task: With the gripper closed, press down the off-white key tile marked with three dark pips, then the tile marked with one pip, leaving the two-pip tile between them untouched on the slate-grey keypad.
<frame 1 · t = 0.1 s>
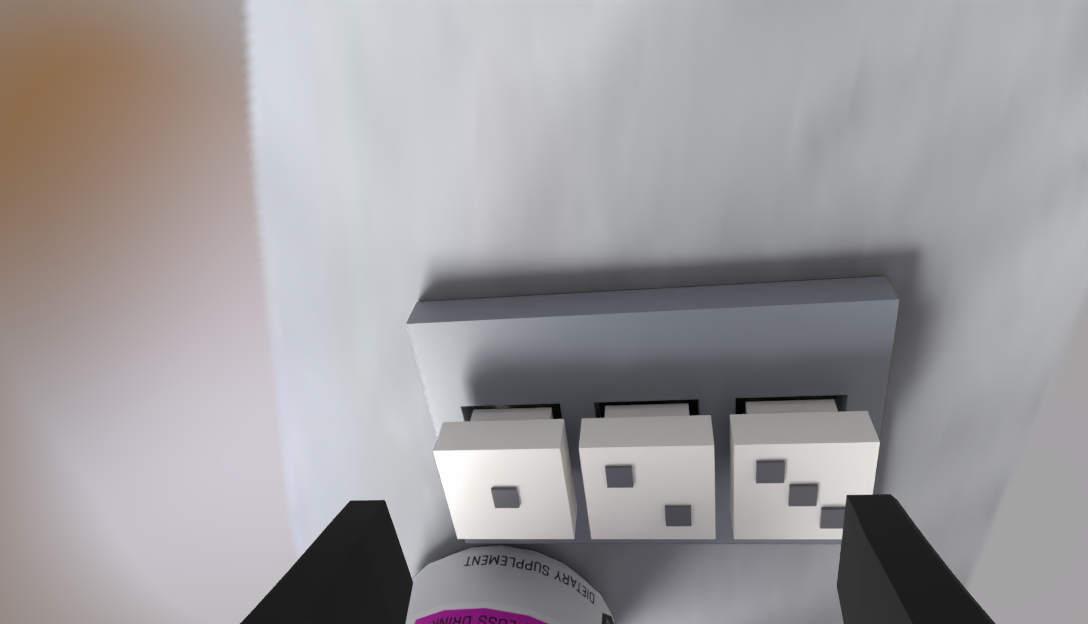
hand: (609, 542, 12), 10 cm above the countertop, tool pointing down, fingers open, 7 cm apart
tile one: (511, 467, 22), point 2 cm above the countertop, slide at 0.0 cm
supplement can: (511, 601, 29), on the countertop
keypad: (648, 414, 23), on the countertop
tile two: (648, 465, 21), point 2 cm above the countertop, slide at 0.0 cm
tile three: (794, 463, 20), point 2 cm above the countertop, slide at 0.0 cm
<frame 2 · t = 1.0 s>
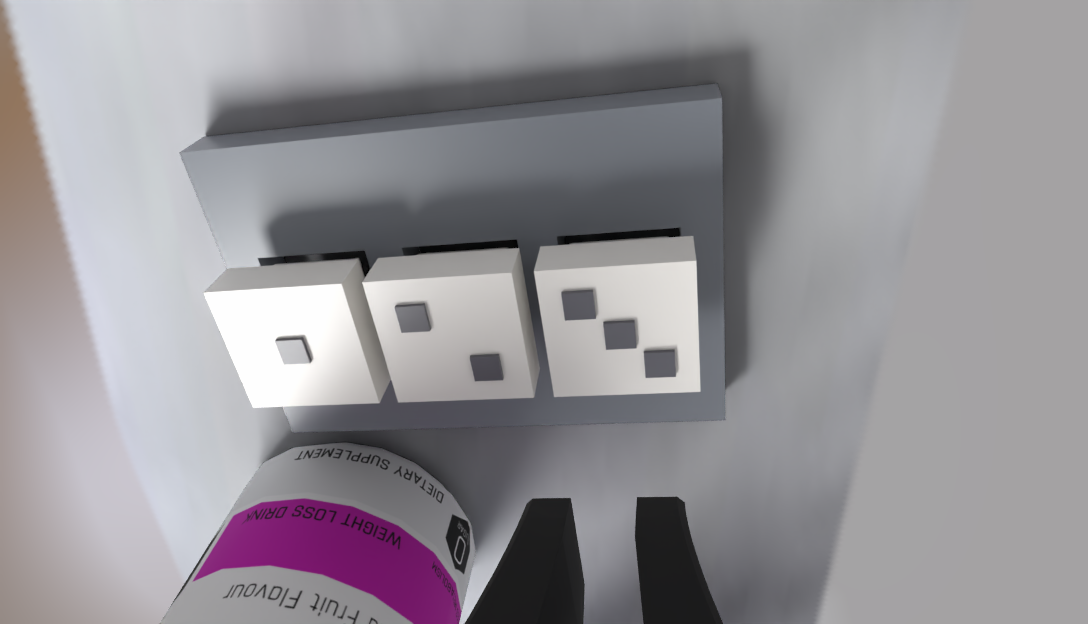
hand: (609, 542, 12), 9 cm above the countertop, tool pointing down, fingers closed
tile one: (312, 324, 19), point 2 cm above the countertop, slide at 0.0 cm
supplement can: (367, 512, 26), on the countertop
keypad: (478, 272, 20), on the countertop
tile two: (461, 316, 18), point 2 cm above the countertop, slide at 0.0 cm
tile three: (621, 307, 18), point 2 cm above the countertop, slide at 0.0 cm
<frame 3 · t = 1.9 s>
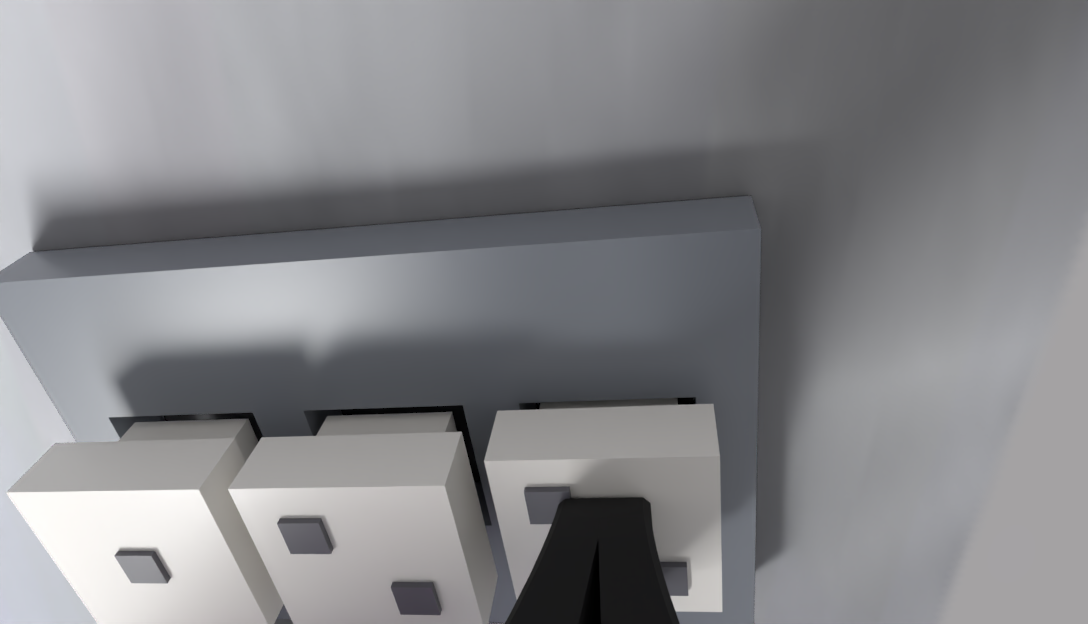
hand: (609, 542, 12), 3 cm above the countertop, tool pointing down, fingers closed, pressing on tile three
tile one: (180, 514, 14), point 2 cm above the countertop, slide at 0.0 cm
keypad: (417, 428, 15), on the countertop
tile two: (384, 512, 13), point 2 cm above the countertop, slide at 0.0 cm
tile three: (611, 488, 13), point 2 cm above the countertop, slide at 0.5 cm, touching gripper
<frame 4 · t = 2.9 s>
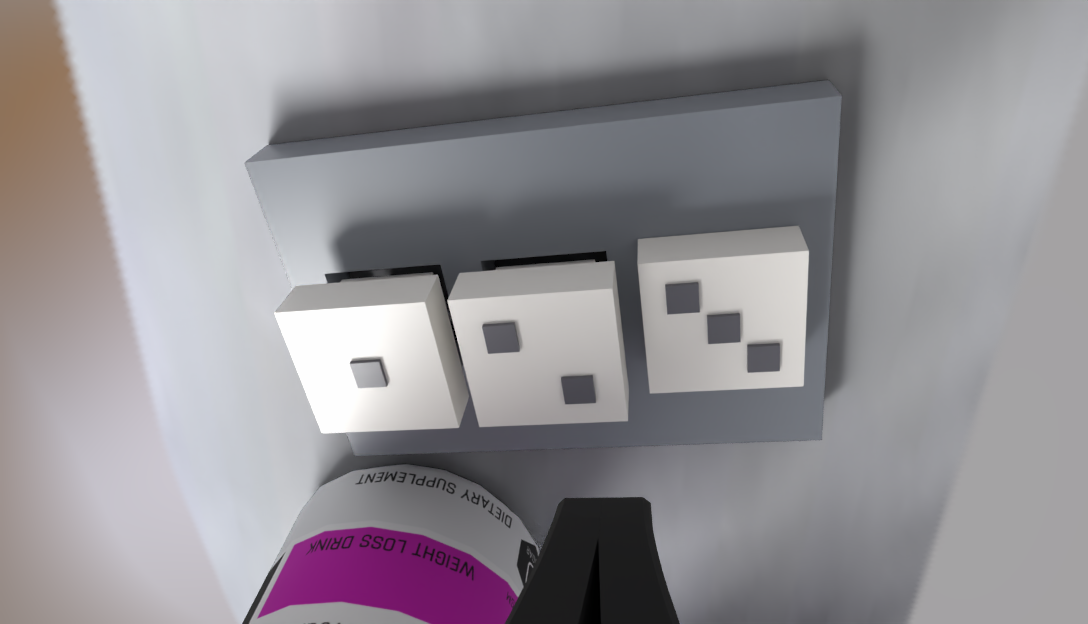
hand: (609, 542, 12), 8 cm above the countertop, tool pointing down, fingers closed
tile one: (384, 344, 18), point 2 cm above the countertop, slide at 0.0 cm
supplement can: (425, 535, 25), on the countertop
keypad: (556, 285, 19), on the countertop
tile two: (546, 334, 17), point 2 cm above the countertop, slide at 0.0 cm
tile three: (719, 300, 17), point 1 cm above the countertop, slide at 1.0 cm
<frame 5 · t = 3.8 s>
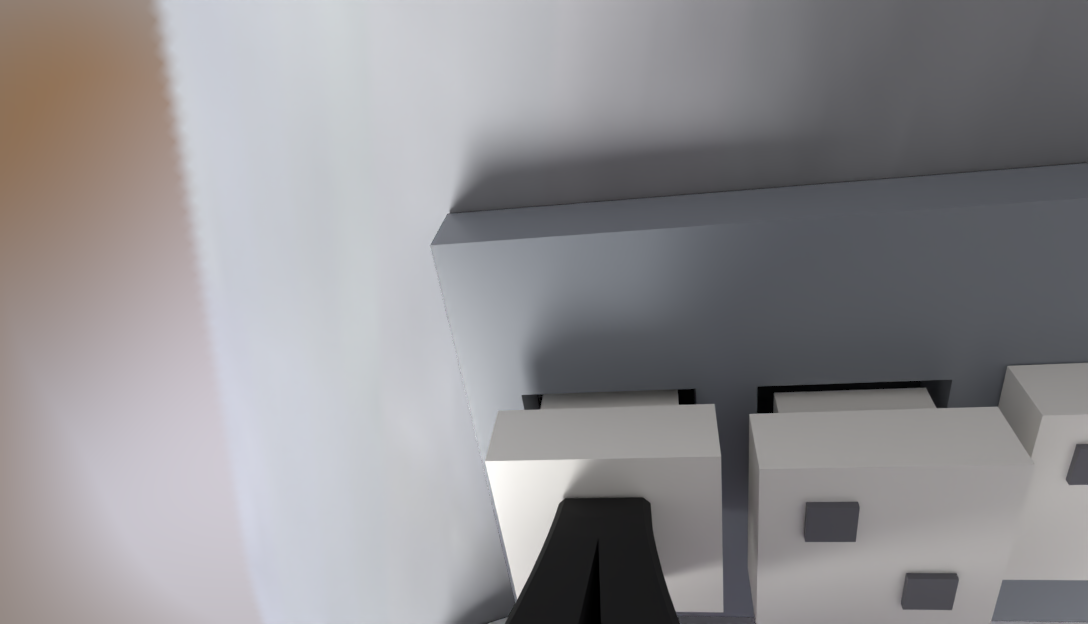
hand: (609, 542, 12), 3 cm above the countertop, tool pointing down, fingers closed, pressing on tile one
tile one: (612, 488, 13), point 2 cm above the countertop, slide at 0.3 cm, touching gripper
keypad: (831, 408, 14), on the countertop
tile two: (861, 497, 12), point 2 cm above the countertop, slide at 0.0 cm
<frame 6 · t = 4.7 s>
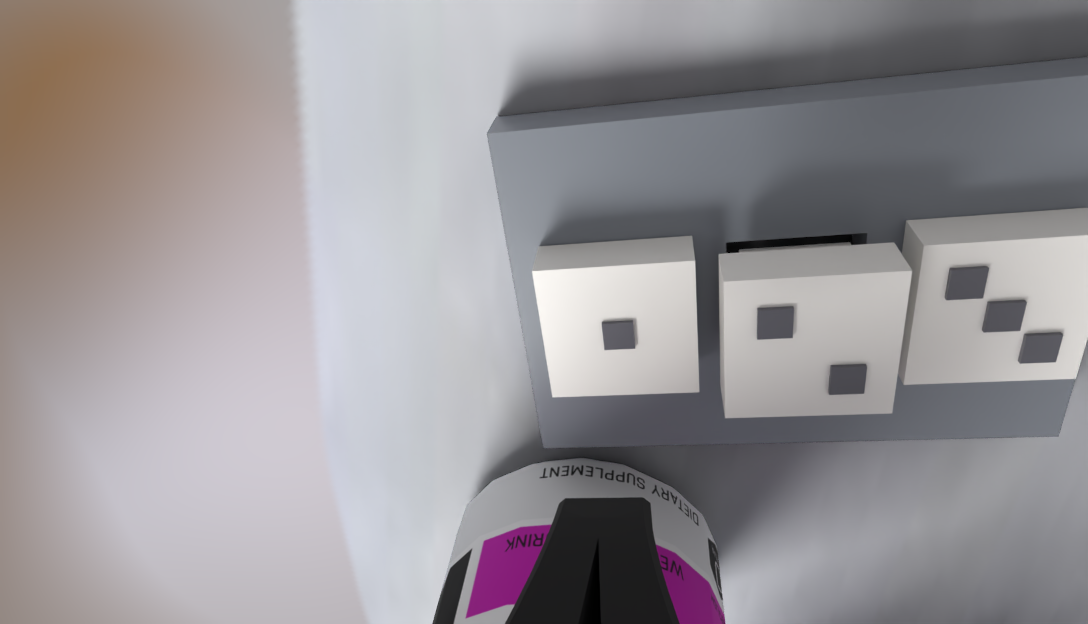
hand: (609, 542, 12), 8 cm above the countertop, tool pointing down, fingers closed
tile one: (620, 307, 18), point 1 cm above the countertop, slide at 1.0 cm
supplement can: (586, 532, 24), on the countertop
keypad: (784, 271, 18), on the countertop
tile two: (801, 320, 16), point 2 cm above the countertop, slide at 0.0 cm
tile three: (981, 287, 16), point 1 cm above the countertop, slide at 1.0 cm
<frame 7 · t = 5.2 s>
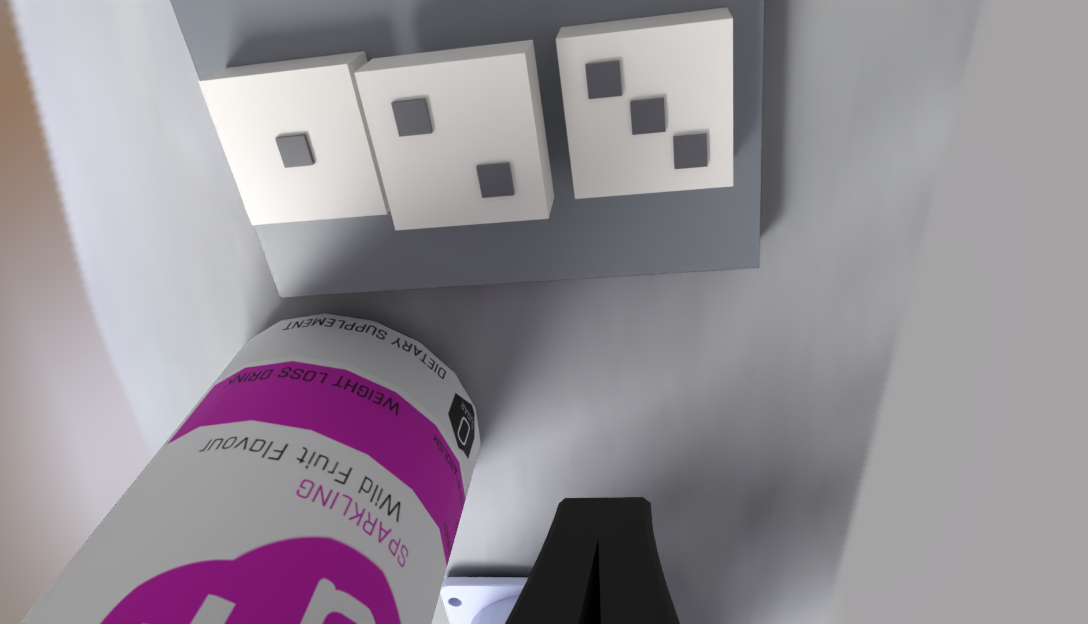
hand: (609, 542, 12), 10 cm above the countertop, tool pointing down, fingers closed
tile one: (314, 134, 18), point 1 cm above the countertop, slide at 1.0 cm
supplement can: (363, 404, 24), on the countertop
keypad: (484, 101, 18), on the countertop
tile two: (466, 131, 16), point 2 cm above the countertop, slide at 0.0 cm
tile three: (647, 100, 16), point 1 cm above the countertop, slide at 1.0 cm
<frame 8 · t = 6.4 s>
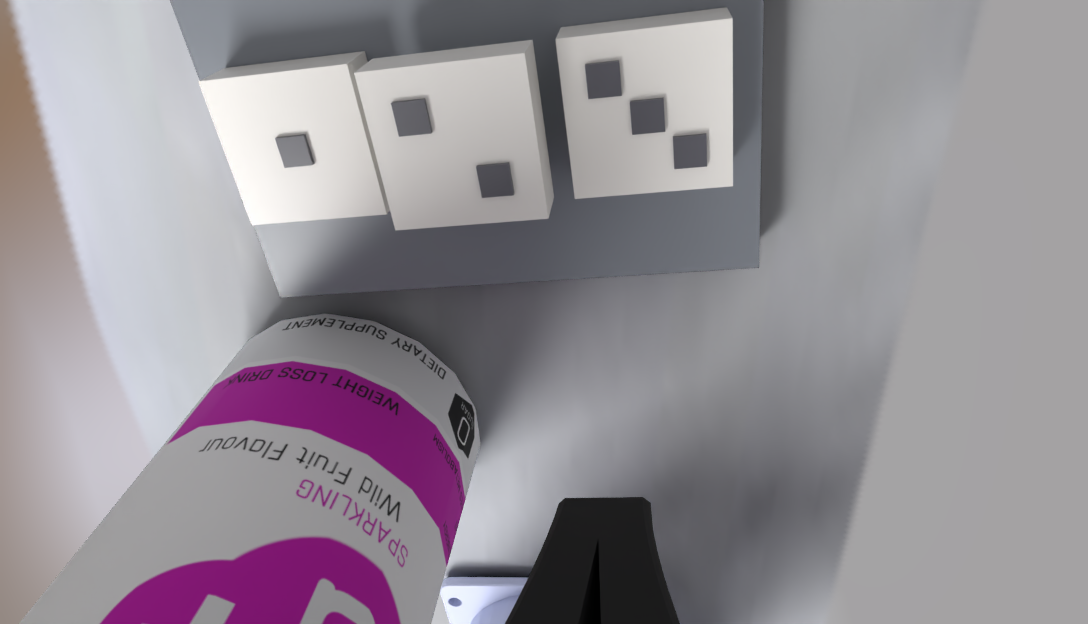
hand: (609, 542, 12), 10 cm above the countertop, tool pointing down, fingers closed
tile one: (314, 134, 18), point 1 cm above the countertop, slide at 1.0 cm
supplement can: (363, 404, 24), on the countertop
keypad: (484, 102, 18), on the countertop
tile two: (466, 131, 16), point 2 cm above the countertop, slide at 0.0 cm
tile three: (647, 100, 16), point 1 cm above the countertop, slide at 1.0 cm
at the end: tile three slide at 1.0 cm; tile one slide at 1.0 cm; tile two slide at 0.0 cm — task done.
